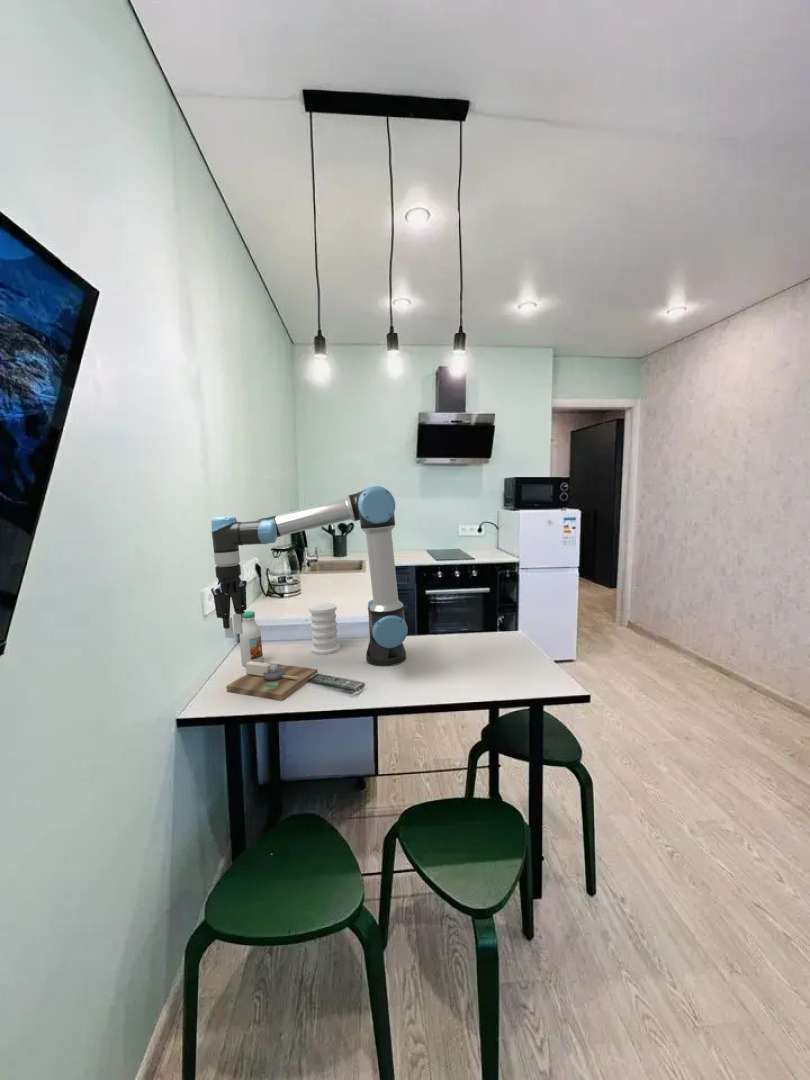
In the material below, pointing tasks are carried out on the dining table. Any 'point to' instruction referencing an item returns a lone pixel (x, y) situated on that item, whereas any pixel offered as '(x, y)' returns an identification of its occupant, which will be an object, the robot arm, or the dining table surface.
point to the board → (272, 683)
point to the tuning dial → (267, 671)
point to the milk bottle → (250, 640)
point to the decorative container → (324, 629)
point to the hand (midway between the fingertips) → (234, 635)
